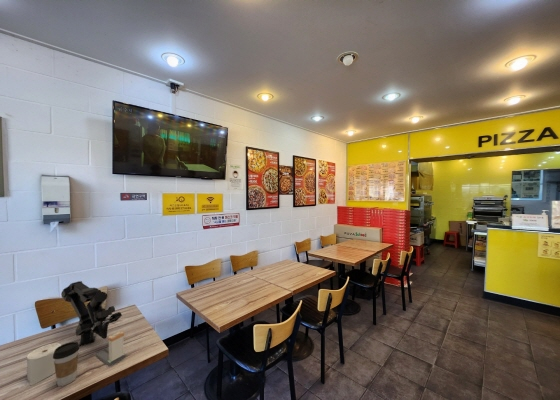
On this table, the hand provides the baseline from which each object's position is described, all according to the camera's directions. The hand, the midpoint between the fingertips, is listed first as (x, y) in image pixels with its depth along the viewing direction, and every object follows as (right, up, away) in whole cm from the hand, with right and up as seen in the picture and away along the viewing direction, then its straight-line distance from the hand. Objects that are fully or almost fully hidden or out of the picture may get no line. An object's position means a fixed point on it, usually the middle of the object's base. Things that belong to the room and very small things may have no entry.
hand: (105, 338), depth 112 cm
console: (+5, -8, -2) cm, 9 cm away
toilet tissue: (-18, -8, -12) cm, 23 cm away
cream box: (+10, -6, -5) cm, 12 cm away
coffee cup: (-4, -8, -17) cm, 19 cm away
